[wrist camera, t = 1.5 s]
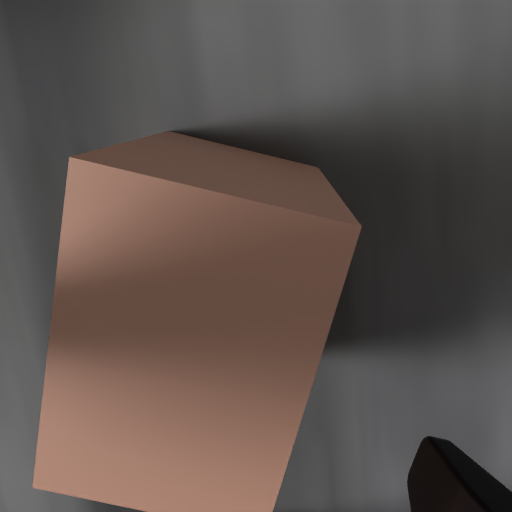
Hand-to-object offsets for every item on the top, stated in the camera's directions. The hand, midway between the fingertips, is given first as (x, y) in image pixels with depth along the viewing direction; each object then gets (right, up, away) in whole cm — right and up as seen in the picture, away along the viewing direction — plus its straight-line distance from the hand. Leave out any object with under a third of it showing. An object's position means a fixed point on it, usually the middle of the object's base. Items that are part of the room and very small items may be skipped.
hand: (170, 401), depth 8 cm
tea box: (0, +3, +8) cm, 9 cm away
